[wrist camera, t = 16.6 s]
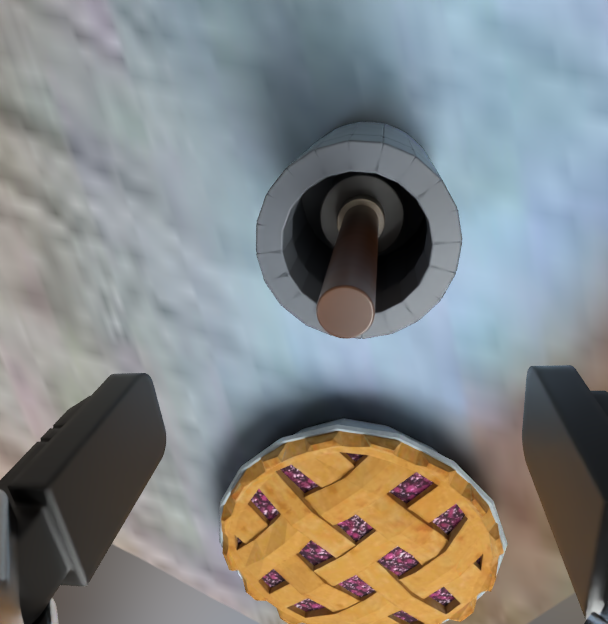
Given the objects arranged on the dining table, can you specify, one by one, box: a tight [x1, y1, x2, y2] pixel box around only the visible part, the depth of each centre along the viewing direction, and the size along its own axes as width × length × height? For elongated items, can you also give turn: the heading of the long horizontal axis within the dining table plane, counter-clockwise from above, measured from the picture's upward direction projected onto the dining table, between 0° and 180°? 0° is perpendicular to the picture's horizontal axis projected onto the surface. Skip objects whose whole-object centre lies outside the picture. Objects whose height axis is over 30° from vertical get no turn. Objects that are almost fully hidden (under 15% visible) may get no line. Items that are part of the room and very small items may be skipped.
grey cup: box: [256, 122, 462, 339], centre depth 26 cm, size 9×9×11 cm
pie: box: [220, 418, 507, 624], centre depth 40 cm, size 22×22×5 cm
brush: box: [316, 171, 405, 338], centre depth 23 cm, size 4×4×17 cm
